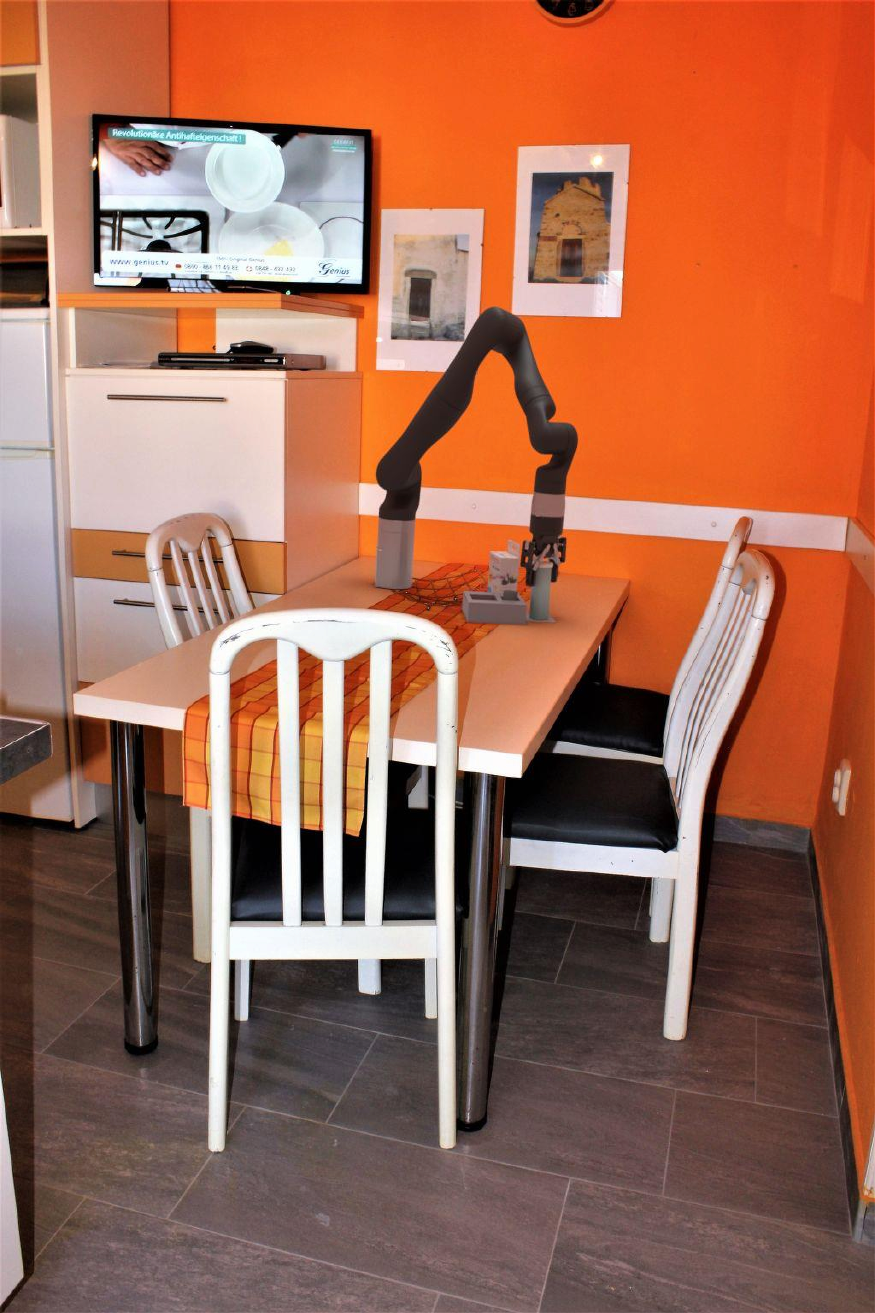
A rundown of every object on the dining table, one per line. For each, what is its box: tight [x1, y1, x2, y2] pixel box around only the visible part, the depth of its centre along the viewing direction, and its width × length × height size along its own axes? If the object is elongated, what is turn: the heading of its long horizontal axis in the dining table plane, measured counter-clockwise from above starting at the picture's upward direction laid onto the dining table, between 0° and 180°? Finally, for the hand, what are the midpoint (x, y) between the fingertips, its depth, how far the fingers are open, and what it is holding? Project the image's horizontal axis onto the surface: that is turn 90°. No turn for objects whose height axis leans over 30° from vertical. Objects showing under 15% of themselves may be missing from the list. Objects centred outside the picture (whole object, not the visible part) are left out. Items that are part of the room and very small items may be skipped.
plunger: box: [503, 590, 519, 601], centre depth 253 cm, size 3×3×6 cm
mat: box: [526, 613, 556, 624], centre depth 256 cm, size 7×7×1 cm
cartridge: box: [528, 560, 553, 620], centre depth 254 cm, size 5×5×13 cm
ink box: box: [486, 539, 521, 593], centre depth 272 cm, size 8×5×15 cm, turn 17°
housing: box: [461, 590, 528, 626], centre depth 253 cm, size 13×12×5 cm
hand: (541, 584), depth 254 cm, fingers open, 8 cm apart
